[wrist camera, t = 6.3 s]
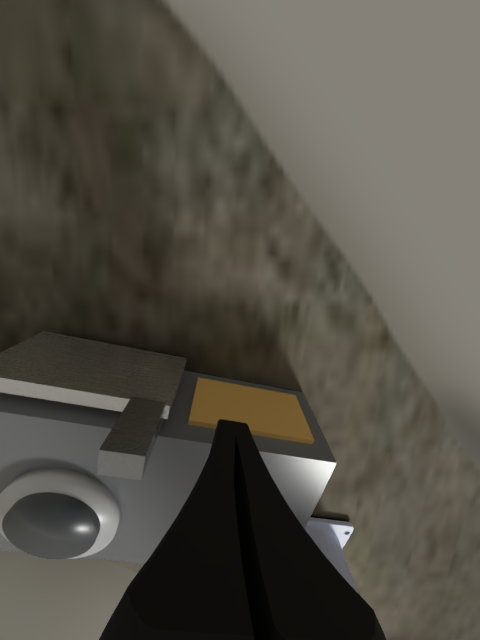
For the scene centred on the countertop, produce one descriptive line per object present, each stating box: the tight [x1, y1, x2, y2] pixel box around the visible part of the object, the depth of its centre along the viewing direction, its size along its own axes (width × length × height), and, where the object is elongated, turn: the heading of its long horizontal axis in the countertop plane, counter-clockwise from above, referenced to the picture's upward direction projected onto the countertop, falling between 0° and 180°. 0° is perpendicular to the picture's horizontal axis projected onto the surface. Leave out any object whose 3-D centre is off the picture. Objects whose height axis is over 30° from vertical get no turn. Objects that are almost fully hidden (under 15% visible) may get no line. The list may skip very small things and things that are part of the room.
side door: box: [0, 331, 187, 480], centre depth 12 cm, size 1×9×8 cm, turn 76°
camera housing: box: [0, 370, 337, 563], centre depth 15 cm, size 10×18×7 cm, turn 76°
